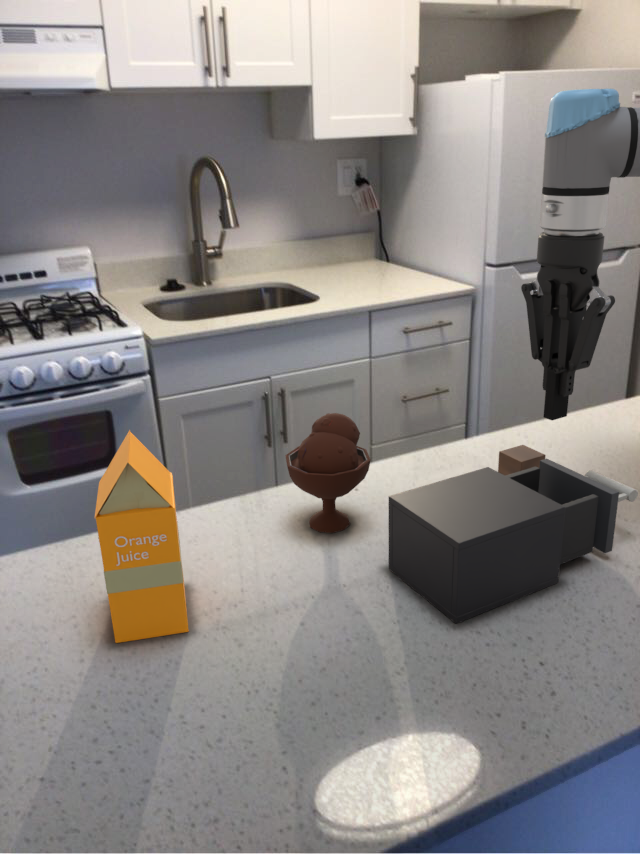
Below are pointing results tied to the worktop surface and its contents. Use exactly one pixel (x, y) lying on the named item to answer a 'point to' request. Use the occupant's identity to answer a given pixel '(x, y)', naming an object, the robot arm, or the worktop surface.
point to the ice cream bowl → (329, 467)
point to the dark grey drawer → (579, 504)
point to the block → (518, 459)
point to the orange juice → (140, 545)
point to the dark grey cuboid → (475, 541)
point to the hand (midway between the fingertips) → (555, 416)
